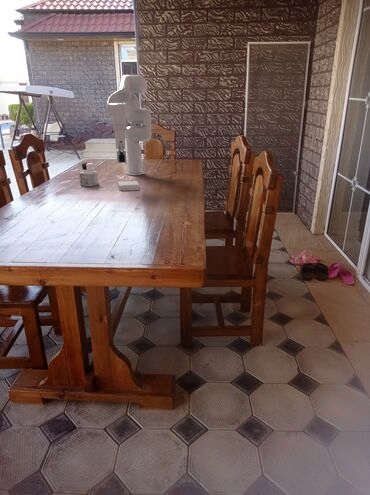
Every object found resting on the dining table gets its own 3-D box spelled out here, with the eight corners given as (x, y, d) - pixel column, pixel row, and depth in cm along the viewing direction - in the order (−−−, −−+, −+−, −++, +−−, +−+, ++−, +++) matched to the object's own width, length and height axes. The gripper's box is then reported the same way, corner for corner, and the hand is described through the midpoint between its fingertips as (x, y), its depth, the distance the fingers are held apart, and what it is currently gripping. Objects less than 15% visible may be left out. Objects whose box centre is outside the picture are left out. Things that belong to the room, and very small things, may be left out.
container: (80, 185, 223) (77, 163, 218) (88, 182, 229) (86, 161, 225) (90, 186, 220) (88, 164, 215) (98, 184, 226) (96, 162, 221)
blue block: (117, 161, 213) (116, 150, 211) (125, 161, 214) (125, 150, 212) (117, 162, 208) (116, 152, 206) (126, 162, 209) (125, 151, 207)
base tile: (118, 186, 220) (117, 181, 218) (136, 185, 222) (136, 180, 221) (119, 190, 210) (119, 185, 209) (139, 189, 212) (138, 184, 211)
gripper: (112, 126, 211) (114, 159, 218) (113, 128, 196) (115, 163, 202) (125, 126, 213) (127, 158, 219) (127, 128, 197) (129, 163, 204)
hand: (121, 160), depth 211 cm, fingers closed on blue block, 5 cm apart
